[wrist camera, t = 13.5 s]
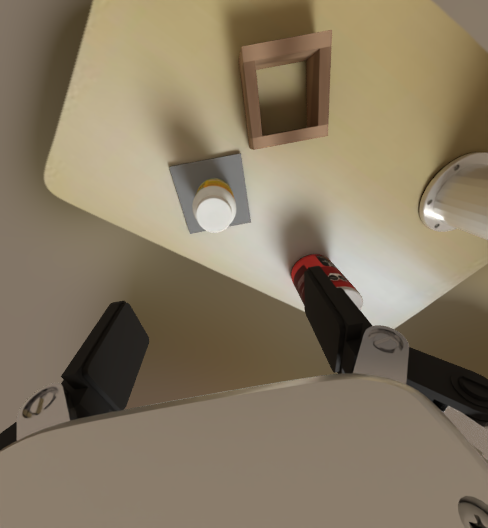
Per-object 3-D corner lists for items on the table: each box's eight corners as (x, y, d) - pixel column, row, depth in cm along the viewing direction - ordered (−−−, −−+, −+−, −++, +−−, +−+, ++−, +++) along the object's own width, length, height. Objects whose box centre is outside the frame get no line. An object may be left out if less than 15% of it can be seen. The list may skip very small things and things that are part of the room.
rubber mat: (240, 153, 30) (240, 153, 29) (250, 221, 35) (250, 222, 34) (169, 166, 30) (169, 167, 29) (190, 232, 35) (190, 233, 34)
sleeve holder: (316, 44, 25) (331, 29, 21) (315, 136, 29) (327, 135, 26) (238, 59, 25) (241, 46, 21) (249, 148, 29) (253, 149, 26)
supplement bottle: (227, 217, 34) (230, 243, 25) (193, 208, 32) (185, 232, 24) (237, 183, 31) (244, 199, 23) (201, 172, 30) (194, 184, 22)
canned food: (335, 274, 42) (368, 313, 33) (298, 292, 44) (320, 335, 34) (323, 245, 38) (357, 279, 29) (283, 265, 40) (303, 305, 30)
